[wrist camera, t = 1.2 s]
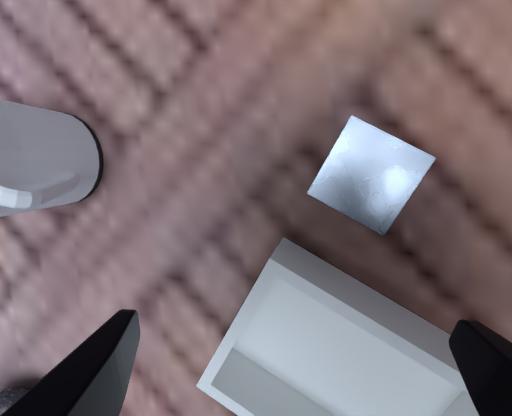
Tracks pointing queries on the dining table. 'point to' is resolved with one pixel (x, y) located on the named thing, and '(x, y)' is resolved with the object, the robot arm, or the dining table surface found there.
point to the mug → (45, 159)
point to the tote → (331, 349)
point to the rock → (10, 397)
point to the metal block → (370, 175)
